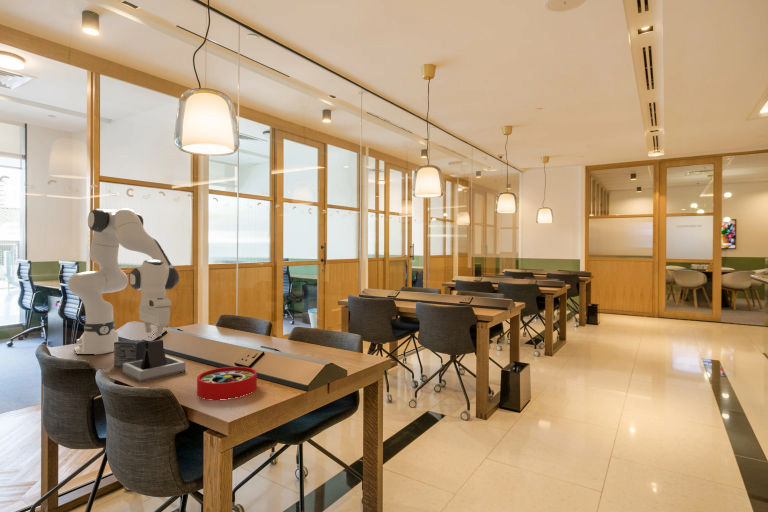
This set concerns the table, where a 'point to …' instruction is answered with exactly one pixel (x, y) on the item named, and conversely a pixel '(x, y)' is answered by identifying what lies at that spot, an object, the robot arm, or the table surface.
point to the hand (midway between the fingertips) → (153, 334)
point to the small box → (128, 351)
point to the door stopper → (153, 355)
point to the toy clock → (226, 383)
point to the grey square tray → (153, 369)
